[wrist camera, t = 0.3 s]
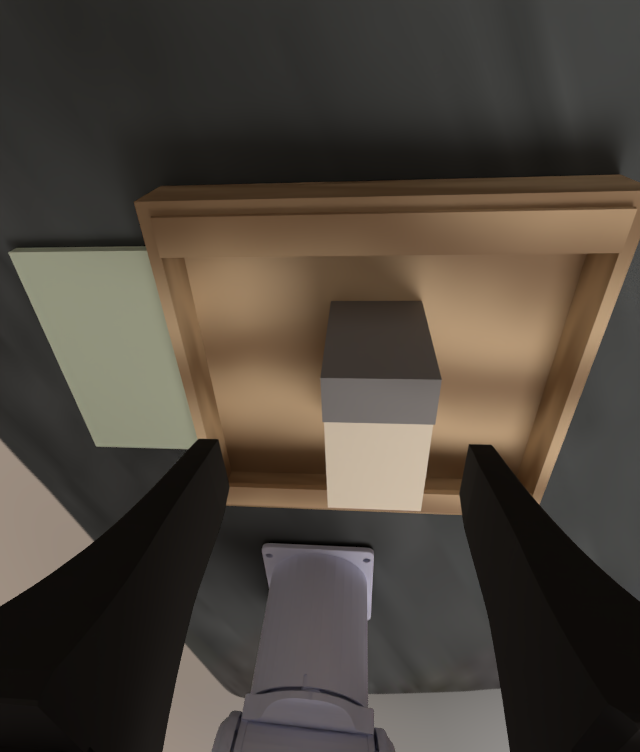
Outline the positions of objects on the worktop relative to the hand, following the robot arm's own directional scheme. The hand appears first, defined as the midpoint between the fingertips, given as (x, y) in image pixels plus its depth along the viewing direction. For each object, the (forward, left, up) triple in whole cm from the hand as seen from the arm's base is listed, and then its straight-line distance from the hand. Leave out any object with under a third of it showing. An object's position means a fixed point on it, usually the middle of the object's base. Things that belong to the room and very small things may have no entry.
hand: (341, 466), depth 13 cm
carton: (-3, -1, -10) cm, 10 cm away
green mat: (-3, +12, -10) cm, 16 cm away
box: (-3, -1, -9) cm, 10 cm away
